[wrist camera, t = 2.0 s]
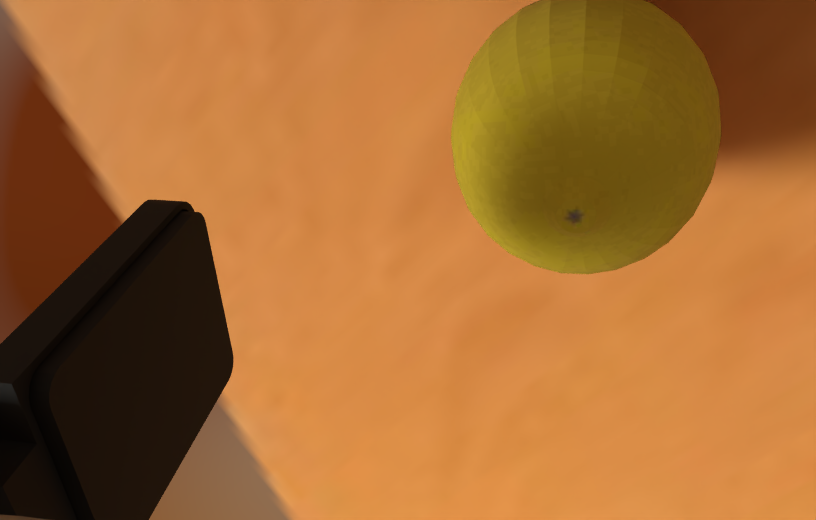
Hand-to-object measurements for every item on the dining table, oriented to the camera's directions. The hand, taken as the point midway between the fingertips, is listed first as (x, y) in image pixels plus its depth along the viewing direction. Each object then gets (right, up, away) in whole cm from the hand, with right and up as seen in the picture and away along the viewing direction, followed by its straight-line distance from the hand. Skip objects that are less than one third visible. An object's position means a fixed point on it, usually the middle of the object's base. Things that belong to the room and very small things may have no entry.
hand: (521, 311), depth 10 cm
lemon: (+3, +6, +9) cm, 11 cm away
